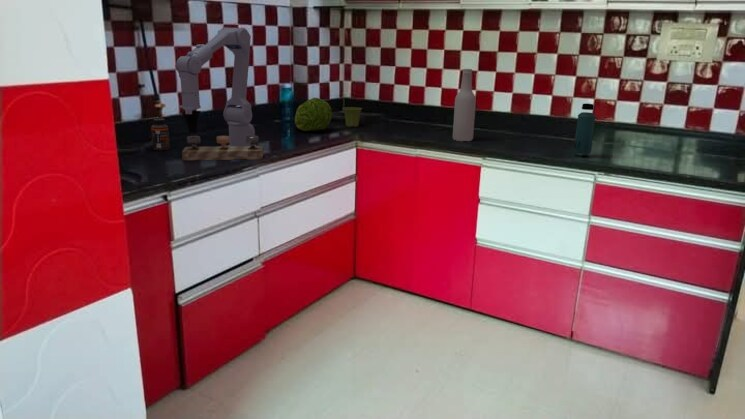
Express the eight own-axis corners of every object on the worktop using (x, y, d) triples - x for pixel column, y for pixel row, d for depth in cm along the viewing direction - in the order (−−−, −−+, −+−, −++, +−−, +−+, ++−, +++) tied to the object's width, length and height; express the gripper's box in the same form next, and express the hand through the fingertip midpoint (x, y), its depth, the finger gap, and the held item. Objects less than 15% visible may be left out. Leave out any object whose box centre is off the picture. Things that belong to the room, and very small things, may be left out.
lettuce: (288, 135, 267) (320, 137, 273) (301, 127, 244) (336, 129, 250) (288, 104, 267) (320, 106, 273) (301, 93, 244) (336, 95, 250)
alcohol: (449, 140, 242) (454, 68, 233) (456, 137, 250) (460, 68, 241) (469, 142, 238) (474, 69, 229) (475, 139, 246) (480, 69, 237)
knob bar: (182, 160, 193) (182, 151, 192) (186, 155, 201) (185, 146, 200) (262, 159, 197) (262, 150, 196) (263, 154, 206) (262, 146, 205)
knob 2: (246, 148, 197) (245, 137, 196) (246, 146, 202) (246, 135, 200) (258, 148, 198) (258, 137, 197) (259, 146, 202) (258, 135, 201)
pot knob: (216, 149, 196) (216, 137, 195) (217, 146, 200) (217, 135, 199) (229, 149, 196) (229, 137, 195) (230, 146, 201) (229, 135, 199)
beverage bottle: (593, 156, 215) (600, 103, 210) (586, 158, 211) (593, 105, 205) (576, 153, 220) (583, 102, 214) (569, 156, 215) (576, 103, 209)
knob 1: (186, 149, 194) (186, 138, 193) (188, 147, 198) (187, 135, 197) (200, 149, 195) (199, 137, 194) (201, 147, 199) (200, 135, 198)
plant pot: (338, 125, 274) (338, 108, 272) (351, 124, 281) (351, 106, 279) (352, 128, 268) (353, 109, 266) (365, 126, 275) (366, 108, 273)
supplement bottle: (162, 151, 206) (159, 120, 203) (149, 150, 208) (146, 119, 205) (173, 148, 211) (171, 118, 208) (160, 147, 214) (158, 117, 210)
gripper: (181, 90, 197) (184, 129, 201) (174, 94, 183) (177, 136, 187) (202, 90, 198) (204, 129, 202) (196, 94, 185) (199, 135, 189)
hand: (193, 132), depth 195 cm, fingers closed
